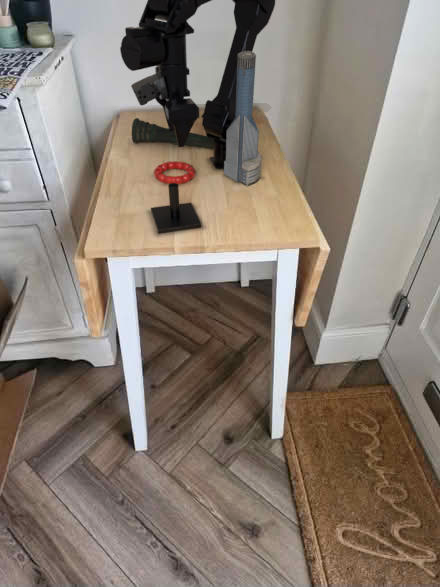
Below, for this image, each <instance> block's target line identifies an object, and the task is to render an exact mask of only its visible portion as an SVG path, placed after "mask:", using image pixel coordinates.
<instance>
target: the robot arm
mask: <svg viewBox="0 0 440 587" xmlns="http://www.w3.org/2000/svg"><path fill="white" fill-rule="evenodd" d="M212 1H213V0H147V1H146V4H145V7H144V9H143V12H142V14H141V17H140V20H139V22H138V26H136V27H134V26H127V27H125V29H124V32H125V35H124V36H123V38H122V39H121V42H120V47H119V50H120V56H121V59H122V62H123V63H124V65H125V67H127V69H128V70H130V71H131V72H134V71H141V70H144V69H148V68H153V67H155V68H154V69H155V70H154V71H155V72H154V74H151V75H148V76H146V77H144V78H142V79H140V80H137V81H136V82H134V83H132V84H131V85H130V87H131V89H132V91H133V93H134V96H135V97H136V100H137V102H138V104H139V105H140V106H145V105H146V104H148V103H149V102H151V101H153V100H155V101H156V102H157V103H158V104H159V105H160V106H161V107H162V108H163V109H162V110H163V113H164V117H165V120H166V123H167V127H168V128H167V129H169V131H170V132H174V131H175V134H176V138H177V143H178V144H177V146H178V148H184V147H185V146H186V145H185V142H186V140H187V137H188V135H189V133H191V131H192V128H193V126H194V125H195V123H196V121H197V120H198V119H199V118H200V107H199V106H198V104H197V103H196V102H195V101H194V100H193V98H189V97H191V91H190V90H189V89H188V76H190V68H189V67H188V65H187V64H188V61H187V59H188V58H187V35H191V34H194V33H195V29H194V28H193V27H192V26H191V24H189V22H188V20H190V19H191V18H192V17H193V16H195V14H196V13H197V11H198V9H199V8H200V7H201V6H202V5H205V4H207V3H209V2H212ZM231 1H232V2H233V4H234V8H233V17H234V18H233V19H234V24H235V31H234V35H233V38H232V40H231V45H230V48H229V51H228V52H229V53H228V56H227V60H226V62H225V66H224V70H223V74H222V77H221V81H220V83H219V84H220V85H219V88H218V91H217V95H216V96H215V97H214V98H213V99H212V100H209V99H208V100H206V102H205V105H204V110H203V113H202V114H201V118H202V122H201V126H202V127H203V129H204V132H205V136H207V138H211V139H214V148H213V156H209V160H210V162H211V164H212V165H213V167H214V168H215V169H216V170H221V169H224V161H226V141H227V129H228V128H229V126H230V125H231V123H232V122H233V120H234V118H235V112H236V85H237V58H238V54H239V53H241V52H244V51H251V52H254V51H253V50H254V47H255V44H256V41H257V38H258V36H259V34H260V33H261V32H262V31H263V30H264V29H265V28H266V26H268V24H269V22H270V20H271V18H272V14H273V12H274V9H275V6H276V0H231ZM245 43H246V47H245Z"/></svg>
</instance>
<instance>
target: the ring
mask: <svg viewBox="0 0 440 587" xmlns="http://www.w3.org/2000/svg"><path fill="white" fill-rule="evenodd" d="M168 170H182V171H184V172H185V171H186V173H185V174H182V175H174V176H173V175H166V174H164V173H163V172H166V171H168ZM196 173H197V172H196V170H195V168H194V165H192V164H190V163H187V162H185V161H177V160H176V161H175V160H173V161H166V162H164V163H161V164H159V165H157V166H156V167H155V169H154V170H153V174H154V177H155V179H156V180H157V181H159V182H161V183H163V184H168V185H169V184H170V183H177V184H178V185H181V184H185V183H188V182H190V181H192V180H193V179H194V178H195V176H196Z"/></svg>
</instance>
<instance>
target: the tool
mask: <svg viewBox="0 0 440 587" xmlns="http://www.w3.org/2000/svg"><path fill="white" fill-rule="evenodd" d="M131 140H132V142H133V143H134V144H139V143H152V144H153V143H166V144H174V145H178V143H177V138H176V134H175V131H174V132H170V131H169V128H167V127H164V126H160V125H158V124H156V123H150V122H149V121H145V120H141V119H140V118H138V117H136V118H134V119H133V121H132V124H131ZM184 146H191V147H198V148H199V147H200V148H207V149H208V148H209V149H214V139H211V138H207V136H206V135H204V134H201V133H200V134H199V133H195V132H190V133H189V135H188V137H187V140H186V142H185V145H184Z"/></svg>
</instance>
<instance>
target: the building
mask: <svg viewBox="0 0 440 587" xmlns="http://www.w3.org/2000/svg"><path fill="white" fill-rule="evenodd" d="M245 47H246V43H245ZM256 60H257V54H256V53H255V52H254V51H252V52H251V51H244V52H241V53H239V54H238V58H237V85H236V112H235V118H234V120H233V122H232V123H231V125H230V126H229V128H228V129H227V141H226V161H224V168H223V175H224V176H226V177H227V178H229V179H231V180H232V181H234V182H236V183H241V184H242V185H244V186H245V187H249V186H253V185H255V184H257V183H258V182H259V180H260V179H261V175H262V174H261V173H262V163H263V156H262V154H261V152H260V151H259V138H260V130H259V129H258V126H257V124H256V121H255V119H254V116H253V111H254V92H255V78H256V77H255V76H256Z"/></svg>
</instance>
